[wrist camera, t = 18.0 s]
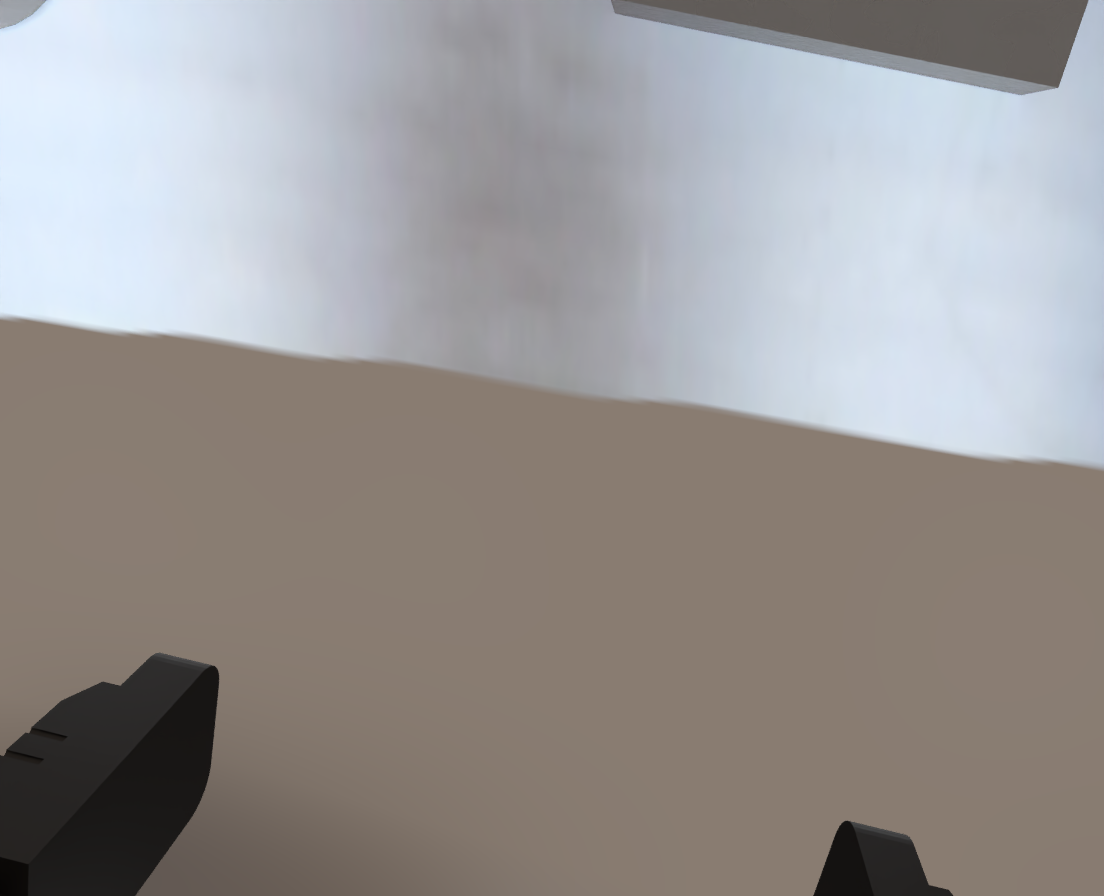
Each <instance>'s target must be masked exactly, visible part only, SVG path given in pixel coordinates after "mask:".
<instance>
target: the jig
mask: <svg viewBox="0 0 1104 896" xmlns="http://www.w3.org/2000/svg"><path fill="white" fill-rule="evenodd" d="M611 2H612V5H613V8H614V12H615V13H616V14H621V15H626V16H631V17H636V18H641V19H646V20H651V21H656V22H661V23H666V24H671V25H676V26H681V27H686V28H691V29H696V30H701V31H706V32H711V33H716V34H721V35H726V36H731V37H735V38H740V39H745V40H750V41H755V42H760V43H765V44H770V45H775V46H780V47H785V48H790V49H795V50H800V51H805V52H810V53H815V54H820V55H825V56H830V57H835V58H840V59H845V60H850V61H855V62H860V63H865V64H870V65H875V66H879V67H884V68H889V69H894V70H899V71H904V72H909V73H914V74H919V75H924V76H929V77H934V78H939V79H944V80H949V81H954V82H959V83H964V84H969V85H974V86H979V87H984V88H989V89H994V90H999V91H1004V92H1009V93H1014V94H1018V95H1024V94H1029V93H1034V92H1039V91H1044V90H1049V89H1055V88H1058V87H1059V84H1060V81H1061V78H1062V75H1063V72H1064V69H1065V67H1066V64H1067V61H1068V58H1069V55H1070V52H1071V49H1072V46H1073V43H1074V41H1075V38H1076V35H1077V32H1078V29H1079V26H1080V23H1081V20H1082V17H1083V15H1084V12H1085V9H1086V6H1087V3H1088V0H611Z"/></svg>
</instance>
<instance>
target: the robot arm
mask: <svg viewBox="0 0 1104 896" xmlns="http://www.w3.org/2000/svg"><path fill="white" fill-rule="evenodd" d="M45 1H46V0H0V29H1V28H5V27H9V26H12V25H15V24H17V23H19V22H20V21H22V20H24V19H25V18H27V17H29V16H30V15H32V14H33V13H34V12H35V11H36V10H37V9H38V8H39V7H40V6H41V5H42V4H43V3H44V2H45ZM218 688H219V673H218V669H217V668H216V667H215V666H212V665H208V664H204V663H200V662H196V661H191V660H187V659H183V658H179V657H174V656H171V655H167V654H162V653H156V654H154V655H153V656H151V657H150V658H149V659H148V660H147V661H146V662H145V663H144V664H143V665H142V666H140V667H139V669H137V670H136V671H135V672H134V673H133V674H132V675H131V676H130V677H129V678H128V679H127V680H126V681H125V682H124V683H123V684H122V685H121V686H119V685H115V684H110V683H106V682H101V683H99V684H97V685H95V686H92V687H90V688H88V689H86V690H84V691H81V692H79V693H77V694H75V695H73V696H71V697H68V698H66V699H64V700H62V701H61V702H59V703H58V704H57V705H56V706H55V707H54V708H53V709H52V710H50V711H49V712H48V713H47V714H46V715H45V716H44V717H43V718H42V719H41V720H39V721H38V722H37V723H36V724H35V725H34V726H33V727H32V728H31V731H30V733H25V734H24V735H22V736H21V737H20V738H19V739H18V740H17V741H16V742H15V743H14V744H12V745H11V746H10V747H9V748H8V749H7V751H6V753H5V755H4V756H1V755H0V896H135V895H136V894H137V892H138V891H139V890H140V889H141V887H142V886H143V884H144V883H145V882H146V880H147V879H148V877H149V876H150V875H151V873H152V872H153V870H154V869H155V867H156V866H157V865H158V863H159V862H160V861H161V859H162V858H163V857H164V855H165V854H166V852H167V851H168V850H169V848H170V847H171V846H172V844H173V843H174V841H175V840H176V839H177V837H178V835H179V834H180V833H181V832H182V830H183V829H184V827H185V826H186V825H187V823H188V822H189V820H190V819H191V817H192V816H193V814H194V812H195V811H196V809H197V807H198V805H199V803H200V801H201V798H202V796H203V793H204V791H205V788H206V785H207V781H208V777H209V773H210V768H211V759H212V749H213V739H214V729H215V718H216V707H217V698H218ZM813 896H953V895H952V893H951V892H950V891H949V890H946V889H943V888H938V887H934V886H930V885H928V882H927V879H926V876H925V874H924V871H923V868H922V866H921V863H920V860H919V858H918V855H917V852H916V850H915V847H914V844H913V842H912V840H911V839H910V837H908V836H907V835H904V834H900V833H896V832H892V831H888V830H884V829H879V828H875V827H871V826H867V825H863V824H859V823H855V822H851V821H844V822H843V823H842V824H841V825H840V826H839V828H838V830H837V832H836V835H835V837H834V840H833V843H832V845H831V848H830V851H829V854H828V857H827V859H826V862H825V865H824V868H823V871H822V874H821V876H820V879H819V882H818V884H817V887H816V890H815V893H814V895H813Z"/></svg>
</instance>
